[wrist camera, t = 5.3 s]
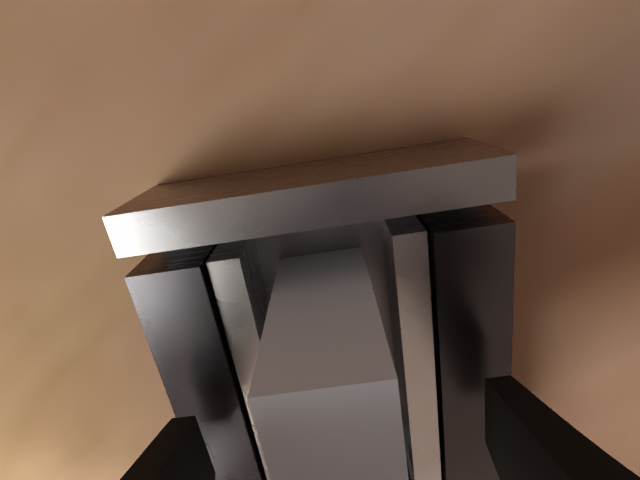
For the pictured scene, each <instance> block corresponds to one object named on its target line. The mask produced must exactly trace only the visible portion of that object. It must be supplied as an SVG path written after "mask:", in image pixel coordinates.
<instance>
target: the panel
mask: <svg viewBox="0 0 640 480" xmlns="http://www.w3.org/2000/svg"><path fill="white" fill-rule="evenodd" d="M247 399H248V402H249V406H250V409H251V413H252V416H253V420H254V423H255V427H256V430H257V434H258V437H259V441H260V444H261V448H262V451H263V455H264V458H265V462H266V465H267V469H268V472H269V476H270V479H271V480H409V479H408V470H407V461H406V452H405V443H404V433H403V424H402V415H401V406H400V396H399V387H398V379H397V375H396V371H395V368H394V364H393V360H392V357H391V353H390V349H389V346H388V342H387V338H386V335H385V331H384V327H383V324H382V320H381V316H380V313H379V309H378V306H377V302H376V298H375V295H374V291H373V287H372V284H371V280H370V276H369V273H368V269H367V265H366V262H365V258H364V254H363V251H362V247H357V248H350V249H343V250H337V251H330V252H323V253H316V254H310V255H303V256H296V257H289V258H283V259H279V263H278V267H277V272H276V276H275V280H274V285H273V289H272V293H271V298H270V302H269V306H268V311H267V315H266V319H265V324H264V328H263V332H262V337H261V341H260V345H259V350H258V354H257V358H256V363H255V367H254V371H253V376H252V380H251V384H250V389H249V393H248V398H247Z"/></svg>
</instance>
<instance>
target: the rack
mask: <svg viewBox="0 0 640 480" xmlns="http://www.w3.org/2000/svg"><path fill="white" fill-rule="evenodd" d="M516 180H517V154H515V153H512V152H509V151H506V150H503V149H499V148H496V147H493V146H490V145H487V144H484V143H481V142H478V141H475V140H472V139H469V138H461V139H455V140H448V141H442V142H435V143H429V144H423V145H416V146H410V147H403V148H397V149H390V150H384V151H377V152H371V153H364V154H358V155H351V156H345V157H338V158H332V159H325V160H319V161H313V162H306V163H300V164H293V165H287V166H280V167H274V168H267V169H261V170H254V171H248V172H241V173H235V174H228V175H222V176H215V177H209V178H203V179H196V180H190V181H183V182H177V183H170V184H164V185H157V186H154V187H152V188H151V189H149V190H147V191H145V192H144V193H142V194H140V195H139V196H137V197H135V198H134V199H132V200H130V201H128V202H127V203H125V204H123V205H122V206H120V207H118V208H117V209H115V210H113V211H111V212H110V213H108V214H106V215H105V216H103V217H102V219H103V222H104V225H105V227H106V230H107V233H108V235H109V238H110V241H111V243H112V246H113V249H114V252H115V254H116V257H117V258H123V257H130V256H137V255H144V254H148V255H147V256H146V257H145V258H144V259H143V260H142V261H141V262H140V263H139V264H138V265H137V266H136V267H135V268H134V269H133V270H132V271H131V272H130V273H129V274H128V275H127V276H126V277H125V278H124V279H125V281H126V284H127V287H128V289H129V292H130V295H131V297H132V300H133V303H134V306H135V308H136V311H137V314H138V316H139V319H140V322H141V324H142V327H143V330H144V333H145V335H146V338H147V341H148V343H149V346H150V349H151V351H152V354H153V357H154V360H155V362H156V365H157V368H158V370H159V373H160V376H161V378H162V381H163V384H164V387H165V389H166V392H167V395H168V397H169V400H170V403H171V405H172V408H173V411H174V414H175V416H176V418H180V417H187V416H195V417H196V419H197V422H198V425H199V428H200V431H201V433H202V436H203V439H204V442H205V445H206V448H207V450H208V453H209V456H210V459H211V462H212V464H213V467H214V470H215V473H216V475H215V480H271V479H270V476H269V472H268V469H267V465H266V462H265V458H264V455H263V451H262V448H261V444H260V441H259V437H258V434H257V430H256V427H255V423H254V420H253V416H252V413H251V409H250V406H249V402H248V399H247V398H248V393H249V389H250V384H251V380H252V376H253V371H254V367H255V363H256V358H257V354H258V350H259V345H260V341H261V337H262V332H263V328H264V324H265V319H266V315H267V311H268V306H269V302H270V298H271V293H272V289H273V285H274V280H275V276H276V272H277V267H278V263H279V259H283V258H289V257H296V256H303V255H310V254H316V253H323V252H330V251H337V250H343V249H350V248H357V247H362V251H363V254H364V258H365V262H366V265H367V269H368V273H369V276H370V280H371V284H372V287H373V291H374V295H375V298H376V302H377V306H378V309H379V313H380V316H381V320H382V324H383V327H384V331H385V335H386V338H387V342H388V346H389V349H390V353H391V357H392V360H393V364H394V368H395V371H396V375H397V379H398V387H399V396H400V406H401V415H402V424H403V433H404V443H405V452H406V461H407V470H408V479H409V480H500V479H499V476H498V474H497V471H496V469H495V466H494V464H493V461H492V458H491V456H490V453H489V450H488V448H487V445H486V442H485V378H492V377H500V376H508V375H511V360H512V324H513V288H514V252H515V221H513V220H512V219H510V218H509V217H507V216H506V215H504V214H503V213H501V212H500V211H498V210H497V209H495V208H494V207H492V206H491V205H489V204H494V203H501V202H508V201H515V200H516Z"/></svg>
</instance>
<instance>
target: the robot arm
mask: <svg viewBox="0 0 640 480" xmlns="http://www.w3.org/2000/svg"><path fill="white" fill-rule="evenodd" d="M485 442H486V445H487V448H488V450H489V453H490V456H491V458H492V461H493V464H494V466H495V469H496V471H497V474H498V476H499V479H500V480H640V477H639V476H637V475H636V474H635V473H633V472H632V471H630V470H629V469H628V468H626V467H625V466H623V465H622V464H621V463H619V462H618V461H617V460H615V459H614V458H613V457H611V456H610V455H609V454H607V453H606V452H605V451H603V450H602V449H601V448H600V447H598V446H597V445H596V444H594V443H593V442H592V441H591V440H589V439H588V438H587V437H585V436H584V435H583V434H582V433H580V432H579V431H578V430H576V429H575V428H574V427H573V426H571V425H570V424H569V423H568V422H566V421H565V420H564V419H563V418H562V417H560V416H559V415H558V414H557V413H555V412H554V411H553V410H552V409H551V408H549V407H548V406H547V405H546V404H545V403H543V402H542V401H541V400H540V399H539V398H537V397H536V396H535V395H534V394H533V393H531V392H530V391H529V390H528V389H527V388H525V387H524V386H523V385H522V384H521V383H519V382H518V381H517V380H516V379H515V378H513V377H512V376H511V375H508V376H500V377H492V378H485ZM215 475H216V473H215V470H214V467H213V464H212V462H211V459H210V456H209V453H208V450H207V448H206V445H205V442H204V439H203V436H202V433H201V431H200V428H199V425H198V422H197V419H196V417H195V416H187V417H180V418H172V419H171V420H170V421H169V422H168V423H167V425H166V426H165V427H164V428H163V429H162V430H161V432H160V433H159V434H158V435H157V436H156V437H155V439H154V440H153V441H152V442H151V443H150V445H149V446H148V447H147V448H146V449H145V451H144V452H143V453H142V454H141V455H140V457H139V458H138V459H137V460H136V461H135V463H134V464H133V465H132V466H131V467H130V469H129V470H128V471H127V472H126V473H125V474H124V476H123V477H122V478H121V479H120V480H215Z"/></svg>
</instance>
